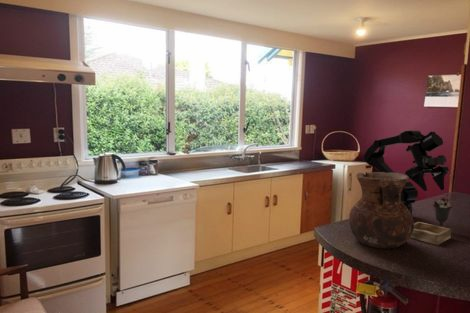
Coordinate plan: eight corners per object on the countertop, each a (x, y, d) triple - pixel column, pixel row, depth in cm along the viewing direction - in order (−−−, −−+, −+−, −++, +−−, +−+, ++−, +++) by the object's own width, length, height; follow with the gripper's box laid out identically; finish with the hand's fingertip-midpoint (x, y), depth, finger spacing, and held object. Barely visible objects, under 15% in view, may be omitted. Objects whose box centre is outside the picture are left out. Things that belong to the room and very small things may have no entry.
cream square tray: (404, 236, 139) (404, 227, 139) (417, 230, 147) (418, 221, 146) (437, 245, 130) (438, 235, 129) (450, 238, 138) (451, 229, 137)
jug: (335, 235, 138) (339, 170, 135) (379, 230, 146) (383, 168, 143) (377, 257, 118) (382, 181, 115) (426, 249, 125) (432, 178, 122)
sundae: (451, 230, 147) (455, 194, 145) (447, 234, 142) (450, 196, 140) (433, 227, 151) (436, 191, 149) (429, 230, 146) (432, 193, 144)
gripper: (417, 147, 147) (432, 184, 140) (452, 147, 153) (467, 182, 147) (398, 159, 156) (411, 194, 150) (431, 159, 163) (445, 192, 156)
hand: (434, 190), depth 150 cm, fingers open, 9 cm apart
